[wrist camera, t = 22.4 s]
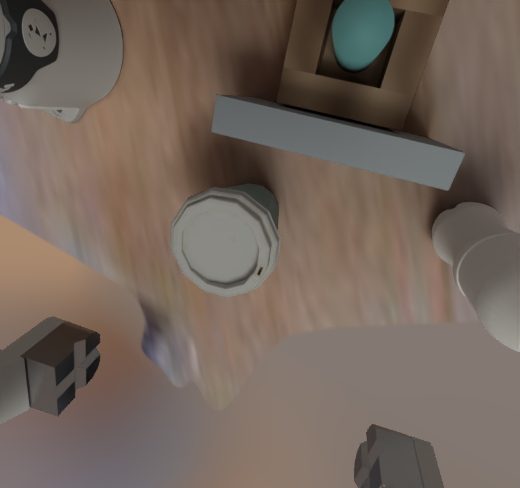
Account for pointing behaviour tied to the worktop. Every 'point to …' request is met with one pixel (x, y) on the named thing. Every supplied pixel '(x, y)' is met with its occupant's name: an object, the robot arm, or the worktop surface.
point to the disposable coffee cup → (227, 238)
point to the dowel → (361, 32)
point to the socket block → (368, 81)
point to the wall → (337, 140)
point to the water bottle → (483, 265)
